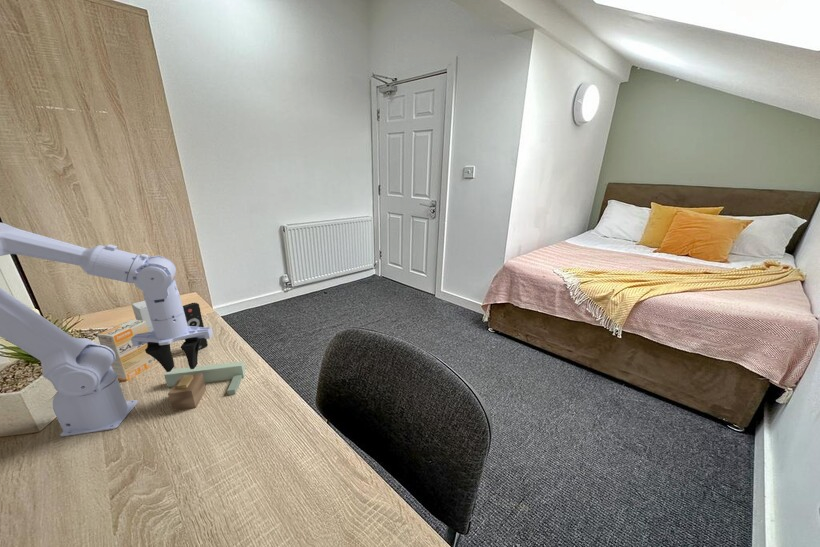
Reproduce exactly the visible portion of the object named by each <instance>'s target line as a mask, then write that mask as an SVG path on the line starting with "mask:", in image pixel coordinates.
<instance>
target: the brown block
mask: <svg viewBox="0 0 820 547" xmlns="http://www.w3.org/2000/svg"><path fill="white" fill-rule="evenodd" d="M206 391H207V388H206V383H204V379H203V374H194V375H185V376H180V378H179V379H178V380H177V382H176V383H175V384H174V386H173V387H171V389H170V390H169V391H168V393H167V395H168V399H169V402H170V405H171V408H172V411H173V412H174V411H176V412H177V411H183V410H184V411H185V410H189V409H190V410H191V409H196V408H197V407H198V405H199V403H200V402H201V400H202V398H203V396H204V395H205V392H206Z"/></svg>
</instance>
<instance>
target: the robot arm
mask: <svg viewBox="0 0 820 547" xmlns="http://www.w3.org/2000/svg"><path fill="white" fill-rule="evenodd" d="M7 255H19V256H25V257H31V258H36V259H41V260H46V261H53V262H57V263H62V264H68V265H74V266H79V267H80V268H81V269H82V270H83V271H84V272H85V273H86V274H87V275H90V276H94V277H100V278H103V279H108V280H109V279H110V280H113V281H118V282H123V283H128V284H134V286H135V287H136V288H138V289H139V290H140V291H142V293H143V297H144V300H145V302H146V306H147V309H148V312H149V316H150V319H151V323H152V326H153V329H154V331H150V332H145V333H139V334H135V335H134V336H133V337H132V338H131V341H132V344H133V346H139V345H140V344H146V343H147V344H148V346H147V348H146V349H145V351H146V353H147V354H149V355H151V356H152V357H154V358H155V359H156V360H157V362H158V363H159V364H160V365H161V367H162V368H163V369H164V371H165V373H166V372H170V371H171V370H172V369H174V367H175V361H174V358H173V354H172V350H171V344H172V343H173V342H179V341H183V340H184V342H183V343H182V344H181V345H180V349H181V350H182V351H183V353H184V355H185V357H186V360H187V364H188V367H190V369H194V368H195V367H197V366H198V356H199V351H200V350H199V346H200V343H201V340H202V338H205V339H207V340H209V339H212V337H213V335H214V333H213V329H212V326H204V327H195V326H188V325H187V321H186V317H185V313H184V309H183V306H184V305H183V302H182V298H181V294H180V292H179V289H178V285H177V281H176V279H174V278H175V276H176V274H177V268H176V265H175V264H174V262H173V261H172V260H170V259H169V258H167V257H163V256H162V255H152V256H149V254H145V253H142V254H141V255H140V254H137V253H133V252H129V251H125V250H121V249H118V246H117V245H114V244H111V243H109V244H107V245H106V246H105V245H102V244H101V245H100V244H99V245H95V246H93V247H91V248H87V247H83V246H80V245H76V244H73V243H70V242H66V241H62V240H59V239H55V238H51V237H50V236H49V237H48V236H45V235H42V234H38V233H34V232H30V231H27V230H24V229H20V228H17V227H14V226H12V225H10V224H7V223H5V222H0V257H3V256H7ZM0 337H1V338H2V339H4V340H6V341H7V342H8V343H10V344H12V345H14V346H16V347H17V348H19V349H20V350H22V351H24V352H25V353H27V354H29V355H31V356H32V357H33V358H35V359H37V360H38V361H40V364H41V372H42V373H41V374H42V377H43V378H44V379H46V380H48V381H49V382H50V383H51V384H52V386H53V389H55V391H56V393H55V395H54V397H53V399H52V410H53V412H54V414H55V416H56V419H57V421H58V423H59V425H60V427H61V429H62V432H61V433H60V434H59V435H60V437H69V436H75V435H82V434H89V433H96V432H102V431H108V430H116V429H117V428H118V427H119V426H120V425H121V423H122V422H123V421H124V420H125V419H126V418H127V416H128V415H129V414H130V413H131V411H132V410H133V409H134V407H135V406H136V405H137V404H138V403H139V401H138V400H137V399H134V400H126V398H125V395H124V392H123V390H122V387H121V384H120V382H119V381H120V380H118V378H117V376H116V373H115V372H114V370H113V369H112V366H111V365H112V364H113V363H114V361H115V358H116V356H115V353H114V351H113V350H112V349H111V348H109V347H107V346H104V345H101V344H100V343H99V344H98V343H96V342H95V341H92V340H91V339H89V338H85V337H83V338H82V337H72V335H70V334H69V333H67V332H66V331H65V330H63V329H61V328H60V327H58V326H57V325H55V324H54V323H52V322H50V321H49V320H48V319H46V318H45V317H44V316H42V315H41V314H39V313H38V312H36V311H35V310H33V309H32V308H30V307H29V306H27V305H26V304H25V303H24V302H22V301H20V300H19V299H17V298H16V297H14V296H13V295H12V294H10V293H9V292H8V291H5V290H4V289H3V288H2V287H0ZM198 350H199V351H198Z"/></svg>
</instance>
